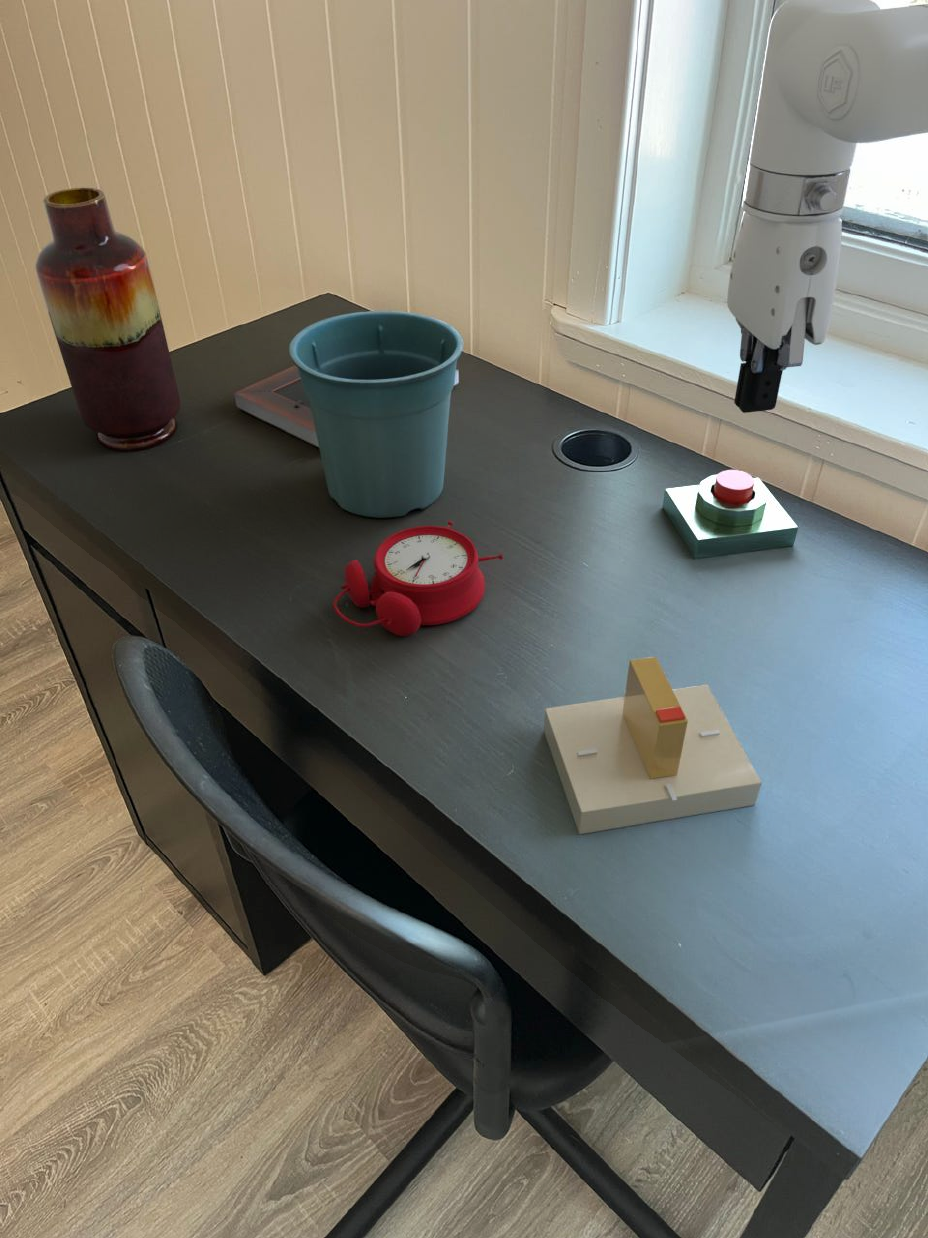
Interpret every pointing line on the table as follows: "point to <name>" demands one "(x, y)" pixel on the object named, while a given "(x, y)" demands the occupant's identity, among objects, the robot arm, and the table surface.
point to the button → (733, 487)
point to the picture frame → (283, 403)
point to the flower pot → (380, 406)
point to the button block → (728, 520)
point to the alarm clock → (419, 579)
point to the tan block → (654, 717)
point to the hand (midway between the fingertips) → (754, 406)
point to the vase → (107, 323)
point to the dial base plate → (617, 778)
